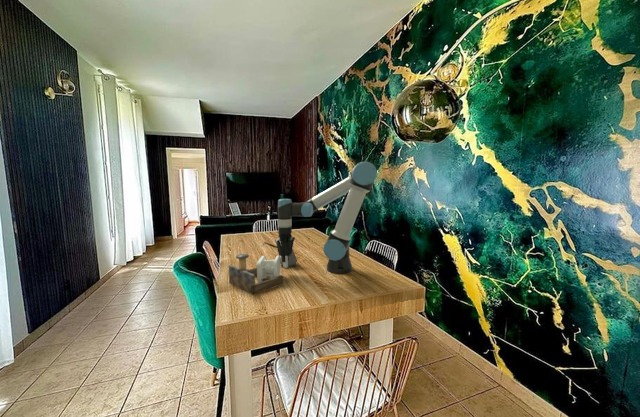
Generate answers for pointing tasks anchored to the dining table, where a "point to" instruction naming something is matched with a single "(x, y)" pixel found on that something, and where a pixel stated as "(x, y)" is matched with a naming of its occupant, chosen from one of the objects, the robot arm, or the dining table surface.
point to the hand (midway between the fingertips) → (285, 267)
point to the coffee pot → (291, 258)
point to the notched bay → (251, 280)
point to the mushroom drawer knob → (242, 261)
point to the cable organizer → (268, 268)
